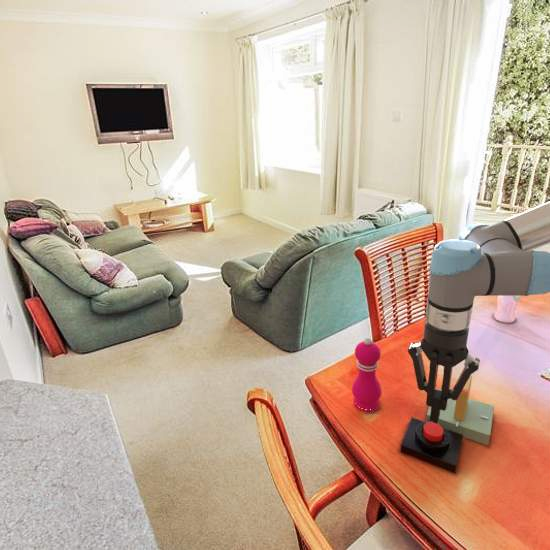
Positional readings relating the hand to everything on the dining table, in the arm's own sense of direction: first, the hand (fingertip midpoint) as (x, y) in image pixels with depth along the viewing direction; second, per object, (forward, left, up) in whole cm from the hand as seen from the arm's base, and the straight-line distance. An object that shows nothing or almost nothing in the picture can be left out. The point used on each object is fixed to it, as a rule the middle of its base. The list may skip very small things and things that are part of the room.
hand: (434, 418), depth 79 cm
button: (0, 0, -5) cm, 5 cm away
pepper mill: (+17, -6, -9) cm, 20 cm away
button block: (0, 0, -9) cm, 9 cm away
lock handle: (-4, -11, -5) cm, 13 cm away
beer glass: (-10, -65, -9) cm, 66 cm away
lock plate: (-4, -11, -9) cm, 14 cm away
